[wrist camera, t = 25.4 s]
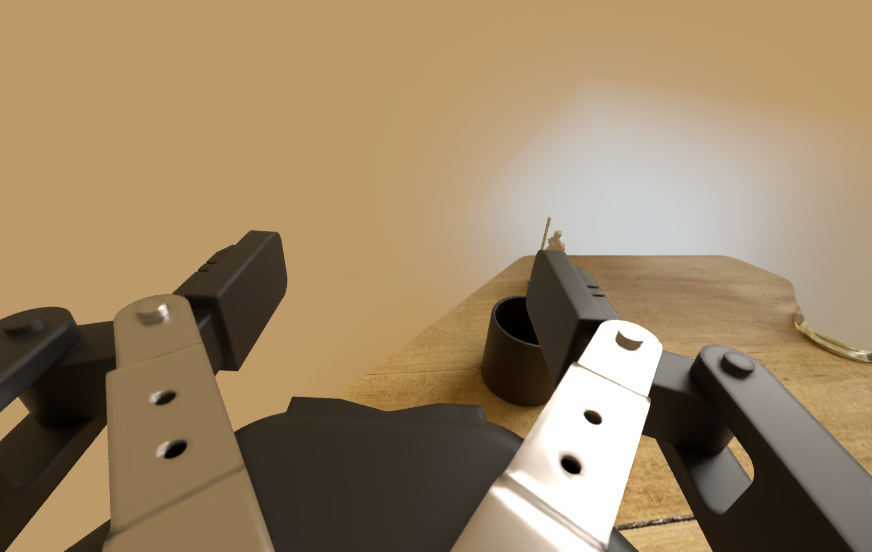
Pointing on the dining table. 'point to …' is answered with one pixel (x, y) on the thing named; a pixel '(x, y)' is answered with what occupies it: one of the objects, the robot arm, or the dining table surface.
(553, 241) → the figurine
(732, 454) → the robot arm
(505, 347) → the mug
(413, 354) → the dining table surface
